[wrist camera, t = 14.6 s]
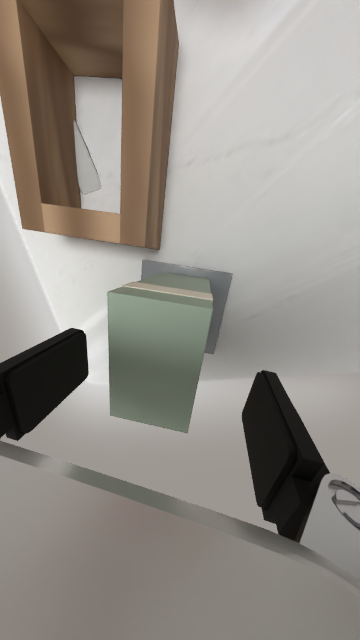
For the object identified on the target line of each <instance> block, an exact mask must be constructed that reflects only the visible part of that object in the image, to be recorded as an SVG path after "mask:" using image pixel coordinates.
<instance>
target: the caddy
mask: <svg viewBox="0 0 360 640" xmlns="http://www.w3.org/2000/svg"><path fill="white" fill-rule="evenodd" d="M178 45H179V41H178V33H177V25H176V17H175V10H174V2H173V0H0V96H1V102H2V108H3V114H4V120H5V126H6V132H7V138H8V144H9V150H10V156H11V162H12V168H13V174H14V181H15V187H16V193H17V199H18V205H19V211H20V217H21V223H22V229H27V230H34V231H40V232H46V233H53V234H59V235H65V236H72V237H79V238H85V239H92V240H99V241H105V242H112V243H118V244H125V245H132V246H138V247H145V248H152V249H158V250H160V241H161V230H162V219H163V209H164V198H165V187H166V176H167V165H168V154H169V143H170V132H171V121H172V111H173V100H174V89H175V78H176V67H177V56H178ZM74 75H79V76H95V77H110V78H122V139H121V204H120V214H117V213H110V212H102V211H95V210H87V209H81V202H80V187H79V183H78V176H77V164H76V151H75V136H74V120H75V122H76V111H75V93H74Z"/></svg>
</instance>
